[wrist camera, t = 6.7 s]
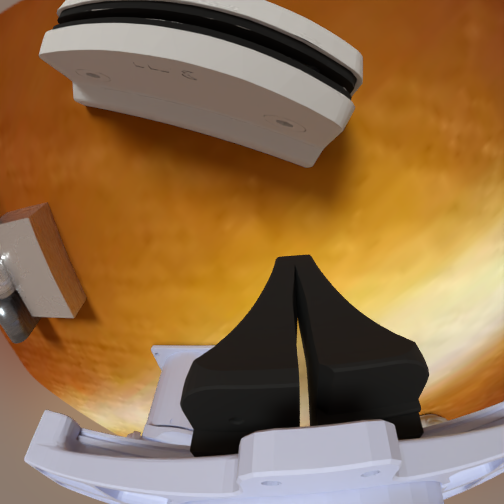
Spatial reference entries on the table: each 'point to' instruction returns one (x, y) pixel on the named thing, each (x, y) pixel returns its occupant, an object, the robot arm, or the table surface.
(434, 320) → the table surface
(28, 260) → the grey boxy piece
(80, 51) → the grey rounded slab
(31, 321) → the fixed leaf
